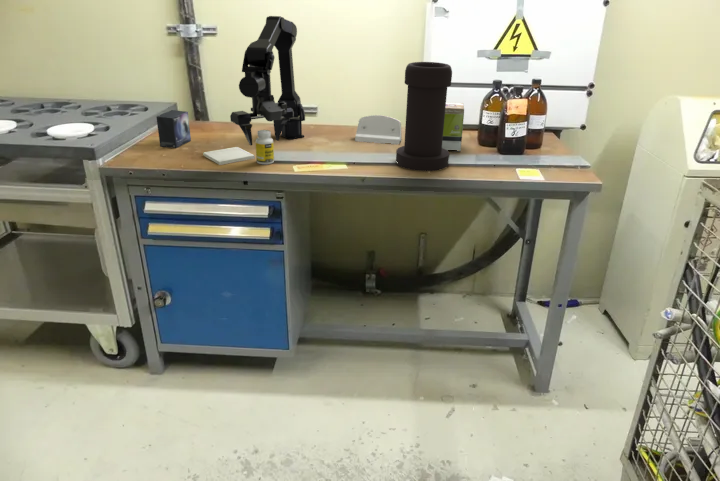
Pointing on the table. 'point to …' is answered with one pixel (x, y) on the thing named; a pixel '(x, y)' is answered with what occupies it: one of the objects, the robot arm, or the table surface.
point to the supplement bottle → (264, 147)
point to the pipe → (425, 117)
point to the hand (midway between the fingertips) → (264, 142)
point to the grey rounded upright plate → (378, 129)
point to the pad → (228, 155)
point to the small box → (173, 129)
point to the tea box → (453, 126)
